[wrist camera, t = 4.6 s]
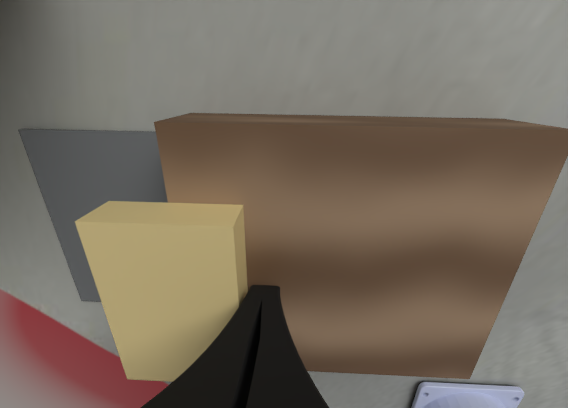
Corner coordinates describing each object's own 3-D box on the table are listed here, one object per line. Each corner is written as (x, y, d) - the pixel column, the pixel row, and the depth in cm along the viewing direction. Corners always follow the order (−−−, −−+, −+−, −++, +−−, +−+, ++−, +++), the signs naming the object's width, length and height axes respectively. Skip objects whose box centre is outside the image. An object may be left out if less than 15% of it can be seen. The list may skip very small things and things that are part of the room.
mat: (206, 303, 19) (205, 306, 19) (84, 297, 20) (81, 300, 19) (184, 132, 15) (182, 133, 14) (23, 129, 15) (18, 129, 15)
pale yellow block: (250, 349, 15) (244, 385, 13) (147, 344, 16) (127, 379, 14) (243, 204, 12) (233, 226, 10) (108, 200, 12) (74, 221, 10)
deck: (436, 323, 19) (469, 379, 16) (214, 313, 20) (195, 365, 16) (502, 118, 14) (578, 130, 10) (190, 113, 14) (154, 121, 10)
